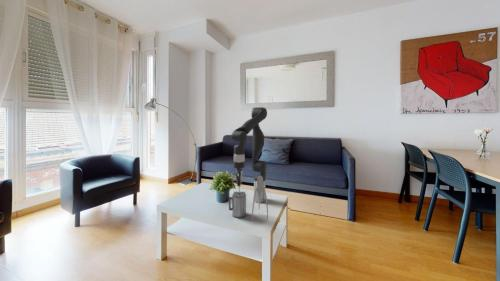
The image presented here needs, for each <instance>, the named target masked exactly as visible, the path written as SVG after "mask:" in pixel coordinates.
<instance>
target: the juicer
mask: <svg viewBox="0 0 500 281" xmlns="http://www.w3.org/2000/svg"><path fill="white" fill-rule="evenodd" d="M257 188H258V189H257ZM257 188H256V189H255V193H254V192H253V198H252V200H253V201H252V210H251V214H252V215H251V216H252V217H251V219H252V220H251V221H252V222H253V221H254V208H255V196H256V192H257V191H258V192H259V203H258V209H260V207H261V206H260V205H261V203H260V195H261V192H262V191H264V194H265V204H266V205H265V206H266V220H267V221H269V206H268V197H267V193H266V187H265V188H263V177H262V176H258V178H257ZM262 188H263V189H262Z"/></svg>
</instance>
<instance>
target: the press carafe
mask: <svg viewBox="0 0 500 281" xmlns="http://www.w3.org/2000/svg"><path fill="white" fill-rule="evenodd" d="M228 210H229V211H231V212H232V217H233V218H236V219H243V218H245V217H246V216H247V194H246V191H240V194H239V191H233V193H232V195H231V196H229V197H228Z"/></svg>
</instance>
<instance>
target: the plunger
mask: <svg viewBox="0 0 500 281" xmlns="http://www.w3.org/2000/svg"><path fill="white" fill-rule="evenodd" d="M238 179H239V178H238ZM242 180H243V179H242V178H241V184H243V182H242ZM238 192H239V194H240V192H241V186H238Z"/></svg>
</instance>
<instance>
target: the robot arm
mask: <svg viewBox="0 0 500 281" xmlns="http://www.w3.org/2000/svg"><path fill="white" fill-rule="evenodd" d="M267 115H268V110H267V108H266V107H253V108H252V109H251V118H250V119H248V120H246V121H245V122H244V123H243V124H242V125H241V126H239V127H238V128H236V129H234V130H233V132H231V135H230V137H231V140H232V141H233V142H237V143H238V142H239V143H238V144H236V145H234V146H233V168H234V169H236V170H235V177H236V178H235V179H236V186H237V187H239V186H240V187H241V185H242V183H241V179H242V178H243V176H242V175H243V169H244V168H245V166H246V164H245V163H246V160H245V159H246V157H245V148H246V143H247V139H248V135H249V134H250V133H251V131H252V158H251V159H252V160H251V168H252V169H251V170H252V172H255V173H260V174H258V175H254V176H253V194H254V193H255V189H256V188H257V178H258V176H262V177H263V188H265V189H266V178H267V177H266V176H267V162H266V161H265V160H259V155H260V153H261V151H262V150H263V148H264V146H265V134H264V132H263V131H262V129H261V127H260V123H261V122H263V121H264V120H265V119H266V118H267ZM238 178H239V179H238ZM263 188H262V189H263ZM257 189H258V188H257ZM254 203H258V204H259V192H258V191H257V192H256V196H255V201H254ZM261 203H262V204H263V203H266V198H265V194H264V191H262V192H261V195H260V204H261Z"/></svg>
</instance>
